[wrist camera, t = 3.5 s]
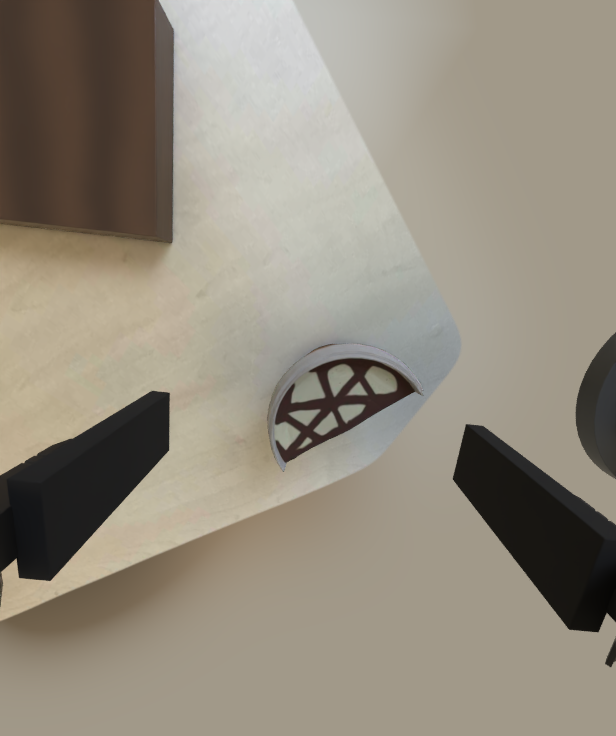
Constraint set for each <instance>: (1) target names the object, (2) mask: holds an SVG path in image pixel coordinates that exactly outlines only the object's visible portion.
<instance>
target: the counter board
mask: <svg viewBox="0 0 616 736" xmlns="http://www.w3.org/2000/svg"><path fill="white" fill-rule="evenodd" d="M172 181H173V28H172V26H171V24H170V22H169V20H168V18H167V16H166V14H165V12H164V10H163V8H162V6H161V4H160V2H159V0H0V223H2V224H11V225H19V226H28V227H37V228H46V229H55V230H64V231H73V232H82V233H90V234H99V235H108V236H117V237H126V238H135V239H144V240H153V241H161V242H170V243H171V242H172Z"/></svg>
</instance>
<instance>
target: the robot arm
mask: <svg viewBox="0 0 616 736" xmlns="http://www.w3.org/2000/svg"><path fill="white" fill-rule="evenodd" d="M169 401H170V393H167V392H157V391H151V392H149V393H148V394H146V395H144V396H143V397H141V398H139V399H138V400H136V401H135V402H133V403H131V404H130V405H128V406H126V407H125V408H123V409H121V410H120V411H118V412H116V413H115V414H113V415H111V416H110V417H108V418H106V419H105V420H103V421H102V422H100V423H98V424H97V425H95V426H93V427H92V428H90V429H88V430H87V431H85V432H83V433H82V434H80V435H78V436H77V437H75V438H74V439H69V440H66V441H63V442H60V443H57V444H55V445H52V446H50V447H48V448H47V449H45V450H43V451H42V452H40V453H38V454H37V456H33V457H31V458H30V459H28V460H26V461H25V463H21V464H19V465H18V466H16V467H14V468H12V469H11V470H9V471H7V472H6V473H4V474H2V475H0V605H1V596H2V587H3V581H2V574H1V572H2V571H3V570H4V569H5V568H6V567H7V566H8V565H9V564H10V563H12V562H13V561H14V560H15V559H16V558H17V565H18V573H19V578H25V579H35V580H46V581H51V580H52V579H53V578H54V576H55V575H56V574H57V573H58V572H59V571H60V570H61V569H62V568H63V567H64V565H65V564H66V563H67V562H68V561H69V560H70V559H71V558H72V557H73V556H74V554H75V553H76V552H77V551H78V550H79V549H80V548H81V547H82V546H83V545H84V543H85V542H86V541H87V540H88V539H89V538H90V537H91V536H92V535H93V533H94V532H95V531H96V530H97V529H98V528H99V527H100V526H101V525H102V524H103V522H104V521H105V520H106V519H107V518H108V517H109V516H110V515H111V514H112V513H113V511H114V510H115V509H116V508H117V507H118V506H119V505H120V504H121V503H122V502H123V500H124V499H125V498H126V497H127V496H128V495H129V494H130V493H131V492H132V491H133V489H134V488H135V487H136V486H137V485H138V484H139V483H140V482H141V481H142V480H143V478H144V477H145V476H146V475H147V474H148V473H149V472H150V471H151V470H152V469H153V467H154V466H155V465H156V464H157V463H158V462H159V461H160V460H161V459H162V457H163V456H164V455H165V454H166V453H167V452H168V451H169ZM453 480H454V482H455V483H456V484H457V485H458V487H459V488H460V489H461V491H462V492H463V493H464V494H465V496H466V497H467V498H468V499H469V501H470V502H471V503H472V505H473V506H474V507H475V509H476V510H477V511H478V513H479V514H480V515H481V516H482V518H483V519H484V520H485V522H486V523H487V524H488V525H489V527H490V528H491V529H492V531H493V532H494V533H495V534H496V536H497V537H498V538H499V540H500V541H501V542H502V544H503V545H504V546H505V547H506V549H507V550H508V551H509V553H511V555H512V556H513V558H514V559H515V560H516V562H517V563H518V564H519V565H520V567H521V568H522V569H523V571H524V572H525V573H526V574H527V576H528V577H529V578H530V580H531V581H532V582H533V584H534V585H535V586H536V587H537V588H538V590H539V591H540V592H541V594H542V595H543V596H544V598H545V599H546V600H547V601H548V603H549V604H550V605H551V607H552V608H553V609H554V611H555V612H556V613H557V615H558V616H559V617H560V618H561V620H562V621H563V622H564V624H565V625H566V626H567V627H568V629H569V630H579V631H590V632H599V630H600V627H601V625H602V622H603V620H604V618H605V615H606V613H608V614H609V615H610V616H611V617H612V619H613V620H614V621H615V622H616V525H615V524H614V523H613V522H611V521H608V519H607V518H606V517H605V516H603V515H602V514H601V513H599V512H596V511H595V509H594V508H593V507H591V506H590V505H589V504H587V503H586V502H585V501H583V500H582V499H581V498H579V497H577V496H575V495H573V494H572V493H571V492H569V491H568V490H567V489H566V488H564V487H563V486H562V485H560V484H559V483H558V482H556V481H555V480H554V479H552V478H551V477H550V476H548V475H547V474H546V473H544V472H543V471H542V470H541V469H539V468H538V467H537V466H535V465H534V464H533V463H531V462H530V461H529V460H527V459H526V458H525V457H523V456H522V455H521V454H519V453H518V452H517V451H515V450H514V449H513V448H511V447H510V446H509V445H507V444H506V443H505V442H504V441H502V440H500V438H498V437H497V436H495V435H494V434H493V433H492V432H490V431H489V430H488V429H486V428H485V427H484V426H478V425H468V424H466V427H465V431H464V435H463V439H462V443H461V448H460V451H459V456H458V460H457V464H456V468H455V472H454V476H453ZM615 661H616V638H615V640H614V642H613V645H612V647H611V649H610V652H609V654H608V656H607V659H606V662H605V664H607V665H608V666H610V667H611V666H612V664H613V662H615Z"/></svg>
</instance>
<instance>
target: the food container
mask: <svg viewBox="0 0 616 736" xmlns="http://www.w3.org/2000/svg"><path fill="white" fill-rule="evenodd" d="M422 391H424V390H423V388H422V386H421V383H420V382H419V380H418V379H417V377H416V376H415V375H414V373H413V372H412V371H411V370H410V369H409V368H408V367H407V366H406V365H405V364H404V363H403V362H402V361H400V360H399V359H398V358H396V357H395V356H393V355H391V354H389V353H387V352H386V351H384V350H381V349H378V348H375V347H372V346H367V345H361V344H330V345H326V346H322V347H319V348H317V349H315V350H313V351H312V352H310V353H309V354H307V355H306V356H305V357H303V358H302V359H300V360H299V361H298V362H296V363H295V364H294V365H293V366H292V367H291V368H290V369H289V370H288V371H287V372H286V373H285V374H284V376H283V377H282V378H281V380H280V381H279V382H278V384H277V386H276V388H275V390H274V392H273V394H272V398H271V401H270V404H269V409H268V417H267V420H268V433H269V439H270V444H271V449H272V451H273V454H274V457H275V459H276V461H277V463H278V464H279V466H280V468H281V469H282V471H283V472H284V470H285V467H286V463H287V462H288V461H290V460H292V459H295V458H296V457H297V456H299V455H300V454H302V453H304V452H305V451H307V450H309V449H311V448H313V447H315V446H317V445H319V444H321V443H323V442H325V441H327V440H329V439H331V438H333V437H336V436H338V435H340V434H342V433H344V432H346V431H348V430H350V429H352V428H353V427H355V426H356V425H358V424H360V423H361V422H363V421H364V420H366V419H367V418H369V417H371V416H372V415H374V414H376V413H377V412H379V411H381V410H382V409H384V408H386V407H388V406H390V405H391V404H393V403H395V402H397V401H399V400H400V399H402V398H404V397H406V396H408V395H410V394H411V393H413V392H417V393H418V394H420V395H422V396H423V394H422Z"/></svg>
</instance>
